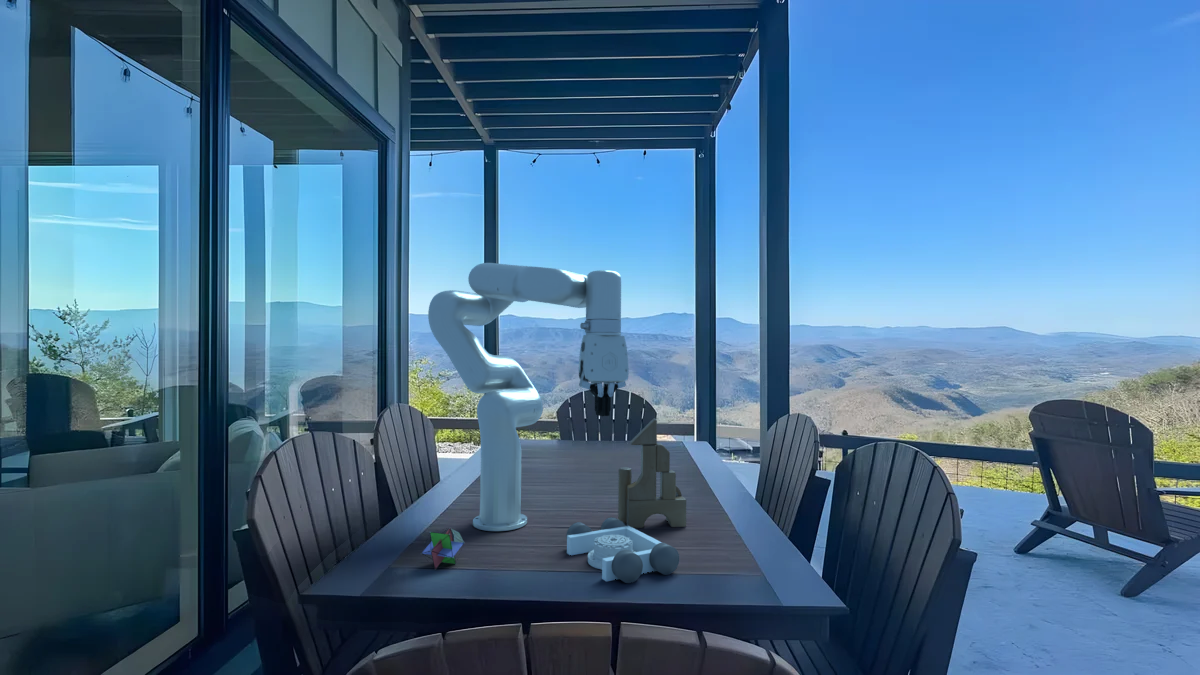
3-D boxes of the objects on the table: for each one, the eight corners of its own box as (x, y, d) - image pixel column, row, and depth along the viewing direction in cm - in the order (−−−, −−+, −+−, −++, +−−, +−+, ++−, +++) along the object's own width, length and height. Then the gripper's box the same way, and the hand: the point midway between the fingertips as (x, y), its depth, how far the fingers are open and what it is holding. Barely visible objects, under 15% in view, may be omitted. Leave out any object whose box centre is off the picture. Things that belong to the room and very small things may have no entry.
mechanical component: (633, 575, 100) (643, 556, 110) (633, 550, 100) (644, 534, 110) (580, 569, 103) (596, 551, 112) (581, 545, 103) (596, 529, 113)
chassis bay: (561, 549, 113) (561, 524, 113) (622, 538, 120) (622, 515, 120) (613, 586, 94) (613, 557, 94) (681, 571, 101) (681, 544, 101)
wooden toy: (679, 518, 135) (679, 416, 136) (686, 527, 128) (686, 419, 129) (617, 520, 134) (618, 416, 135) (620, 528, 127) (621, 419, 128)
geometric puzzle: (442, 565, 97) (458, 521, 102) (409, 561, 99) (426, 518, 104) (459, 578, 103) (473, 536, 108) (427, 573, 105) (442, 532, 110)
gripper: (579, 326, 110) (579, 418, 110) (642, 329, 118) (641, 415, 117) (564, 328, 117) (563, 415, 116) (624, 330, 124) (623, 412, 123)
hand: (602, 415), depth 116 cm, fingers closed
